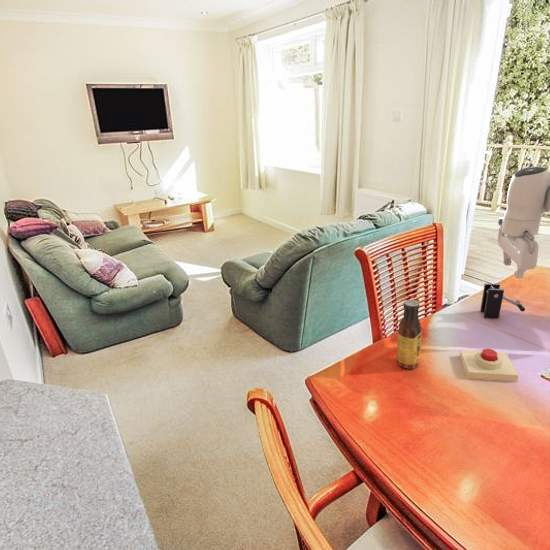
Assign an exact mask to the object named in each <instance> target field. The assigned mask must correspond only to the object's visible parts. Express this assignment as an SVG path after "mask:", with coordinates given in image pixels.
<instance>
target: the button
mask: <svg viewBox="0 0 550 550" xmlns="http://www.w3.org/2000/svg"><path fill="white" fill-rule="evenodd" d="M482 350H483V351H482V356H481V357H482V358H483V359H484V360H487V361H496V359H497V352H498V351H496V350H494V349H491V348H484V349H482Z"/></svg>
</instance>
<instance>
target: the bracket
mask: <svg viewBox="0 0 550 550" xmlns="http://www.w3.org/2000/svg"><path fill="white" fill-rule="evenodd" d="M490 286H493V287H495V288H497V289H488V288H489V287H490ZM500 287H501V284H500V283H486V282H485V283H484V284H483V290H482V291H483V292H482V296H481V297H482V298H481V304H480V310H479V311H480V313H483V318H484V319H496V320H497V319H498V320H499V319H500V314H501V309H502V302H503V300H504V299H503V295H504V293H505V290H504V289H503V288H500ZM487 290H488V293H487Z"/></svg>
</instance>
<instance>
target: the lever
mask: <svg viewBox="0 0 550 550" xmlns="http://www.w3.org/2000/svg"><path fill="white" fill-rule="evenodd" d="M488 289H497V288H495V287H493V286H490V287H489V288H488ZM487 293H488V290H487ZM502 300H504V301H505V302H508V303H510V304H511V305H514V306H515V307H517V308H518V309H519V311H520V312H525V311H526V308H525V307H524V305H523V304H522V303H521V301H520V300H519V299H518V300H517V299H516V300H514V299H512V298H510V297H508V296H506V295H505V294H503V299H502Z"/></svg>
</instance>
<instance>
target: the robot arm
mask: <svg viewBox="0 0 550 550" xmlns="http://www.w3.org/2000/svg"><path fill="white" fill-rule="evenodd" d="M543 213H549V214H550V171H549V170H548V168H546V167H544V166H530V167H525V168H524V167H523V168H521V169H519V170H517V171H515V173H514V174H513V175H512V177H511V180H510V183H509V187H508V190H507V195H506V209H505V211H504V214H503V217H498V221H497V225H498V233H497V244H498V247H500V249H501V250H502V255H503V260H502V263H503V265H504V266H508V267H509V266H511V265H512V261H513V262H514V264H516V270H514V275H513V276H514V277H515V278H516V279H523V278H524V274H525V272H526V271H527V270H535V268H536V267H537V264H538V257H539V243H538V241H536V240H535V239H536V236H537V235H538V234H539V231H540V230H539V229H540V225H541V220H542V215H543Z"/></svg>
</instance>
